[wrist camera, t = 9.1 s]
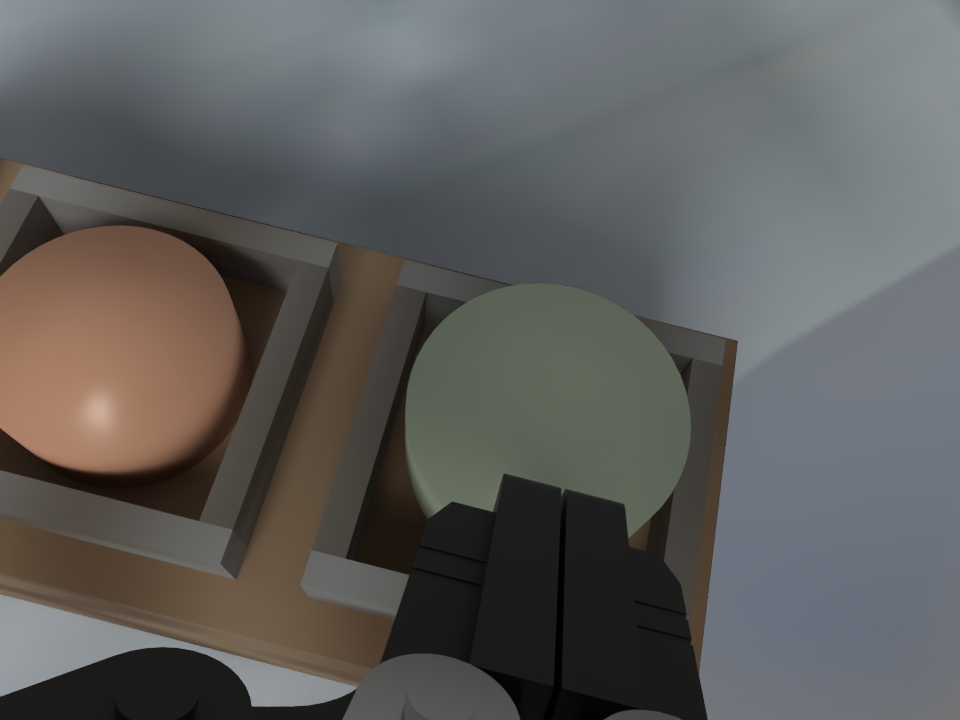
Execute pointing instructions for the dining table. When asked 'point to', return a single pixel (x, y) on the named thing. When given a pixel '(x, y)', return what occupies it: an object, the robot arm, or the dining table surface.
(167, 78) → the dining table surface
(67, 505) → the wooden egg crate
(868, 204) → the dining table surface
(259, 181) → the dining table surface
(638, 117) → the dining table surface
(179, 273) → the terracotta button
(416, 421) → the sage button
